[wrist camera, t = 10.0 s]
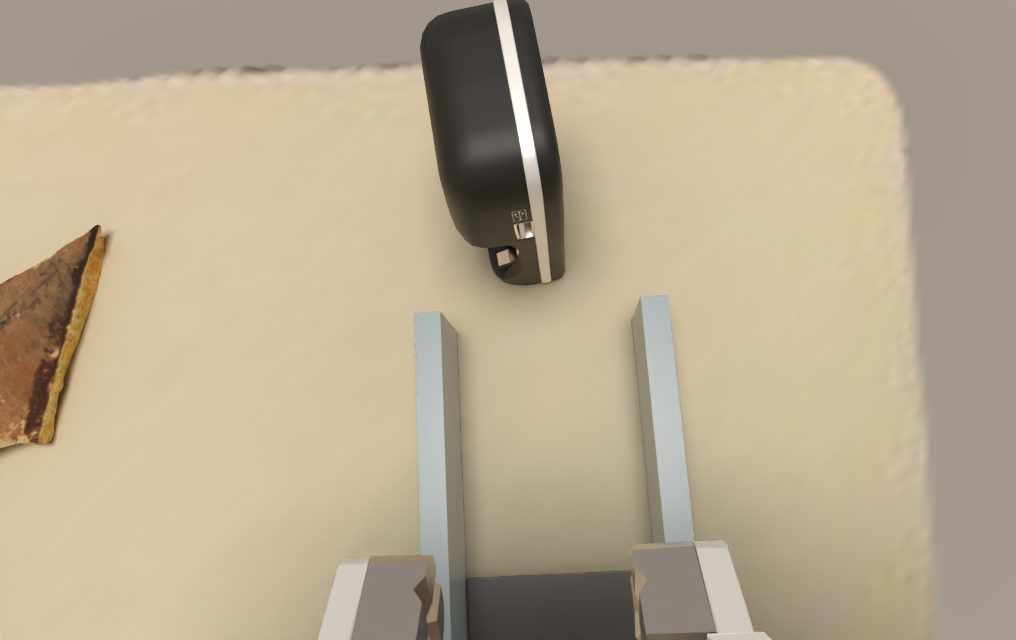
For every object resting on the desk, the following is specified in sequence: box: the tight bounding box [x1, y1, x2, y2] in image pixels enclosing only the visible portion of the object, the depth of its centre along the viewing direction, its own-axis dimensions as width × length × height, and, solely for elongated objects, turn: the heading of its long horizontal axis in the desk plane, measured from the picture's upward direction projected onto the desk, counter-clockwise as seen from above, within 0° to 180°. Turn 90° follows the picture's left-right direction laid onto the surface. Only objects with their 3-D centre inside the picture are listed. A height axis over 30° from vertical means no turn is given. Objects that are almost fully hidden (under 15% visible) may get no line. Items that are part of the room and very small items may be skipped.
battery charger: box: [420, 0, 565, 284], centre depth 26 cm, size 7×4×11 cm, turn 10°
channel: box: [414, 295, 694, 640], centre depth 27 cm, size 10×14×4 cm
